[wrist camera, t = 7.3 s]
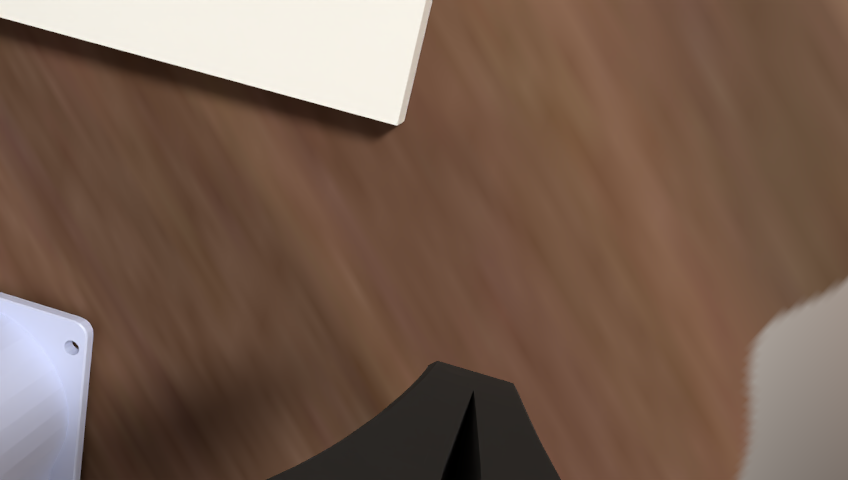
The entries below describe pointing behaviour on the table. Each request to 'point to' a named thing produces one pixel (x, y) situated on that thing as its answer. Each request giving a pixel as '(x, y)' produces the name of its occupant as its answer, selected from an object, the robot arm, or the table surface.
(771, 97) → the table surface
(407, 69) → the cable board
